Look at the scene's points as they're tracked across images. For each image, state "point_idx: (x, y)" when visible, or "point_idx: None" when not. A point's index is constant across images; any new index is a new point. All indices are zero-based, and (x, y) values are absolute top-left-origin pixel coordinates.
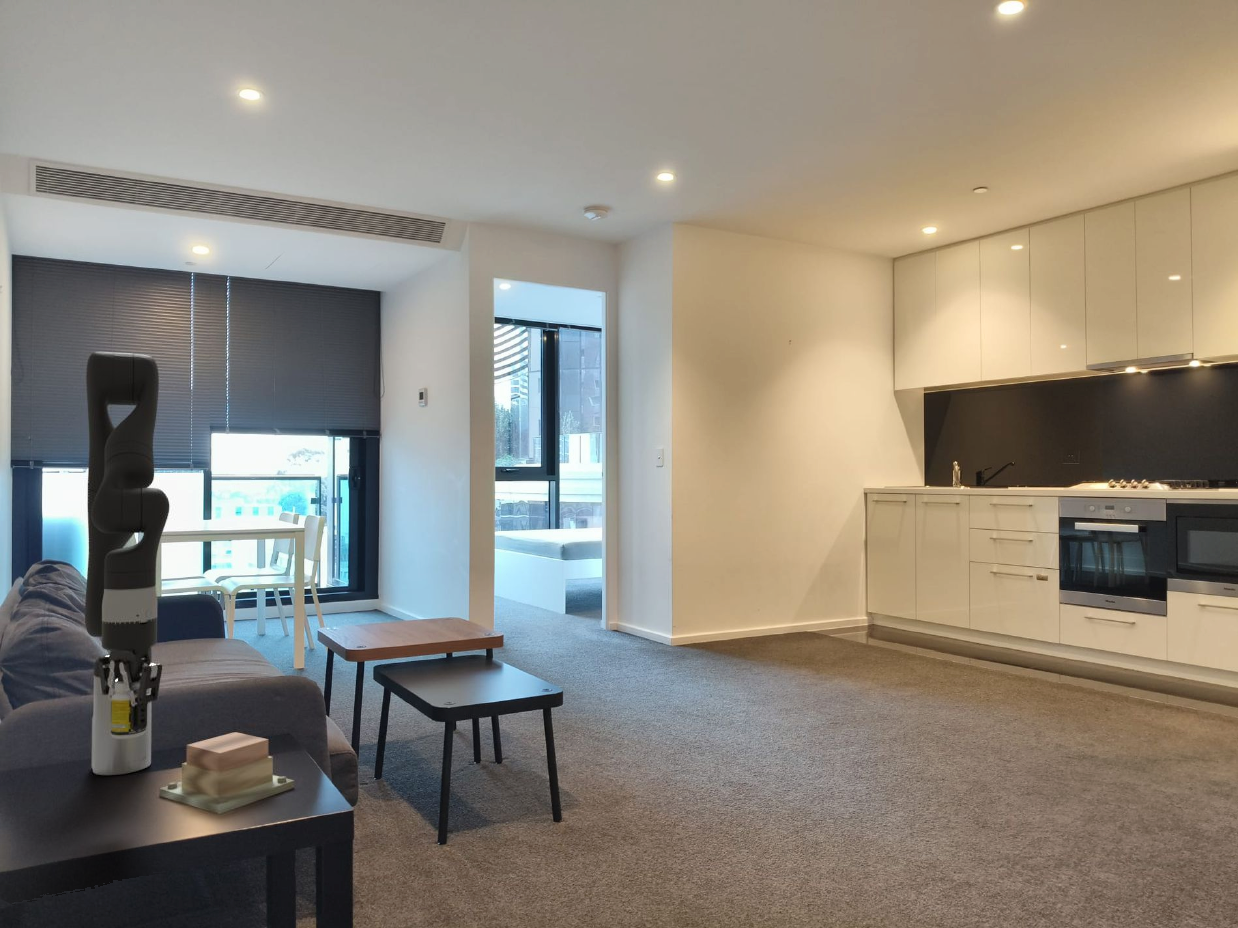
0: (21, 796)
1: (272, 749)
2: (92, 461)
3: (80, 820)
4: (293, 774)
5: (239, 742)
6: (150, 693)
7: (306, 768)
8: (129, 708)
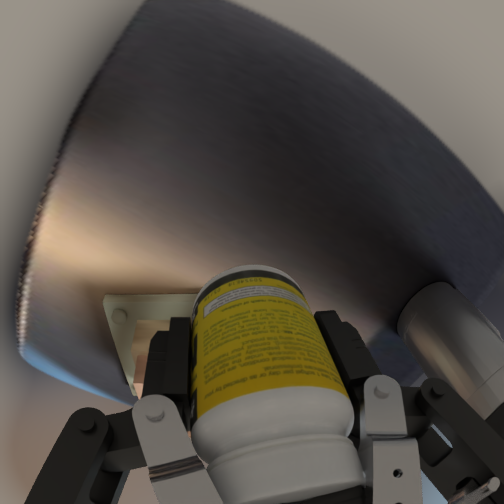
0: (463, 181)
1: None
2: None
3: (291, 152)
4: None
5: None
6: (106, 469)
7: None
8: (197, 382)
